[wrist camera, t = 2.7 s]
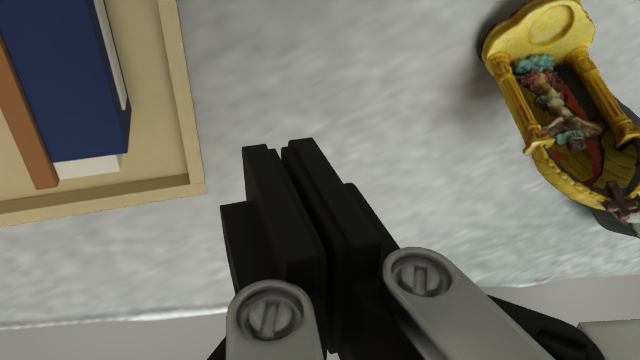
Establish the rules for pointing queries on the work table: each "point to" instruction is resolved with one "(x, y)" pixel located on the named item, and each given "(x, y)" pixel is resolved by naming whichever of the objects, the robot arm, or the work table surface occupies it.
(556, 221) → the work table surface
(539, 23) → the shrine
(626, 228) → the dark grey shoe
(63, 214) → the boot tray
